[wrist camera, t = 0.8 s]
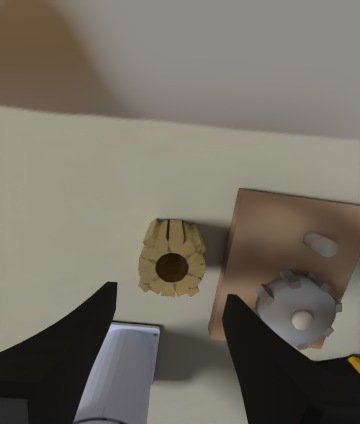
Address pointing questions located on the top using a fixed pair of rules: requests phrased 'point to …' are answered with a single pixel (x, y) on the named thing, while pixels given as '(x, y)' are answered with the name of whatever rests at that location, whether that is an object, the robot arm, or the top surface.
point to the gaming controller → (345, 369)
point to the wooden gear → (172, 258)
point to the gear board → (288, 263)
